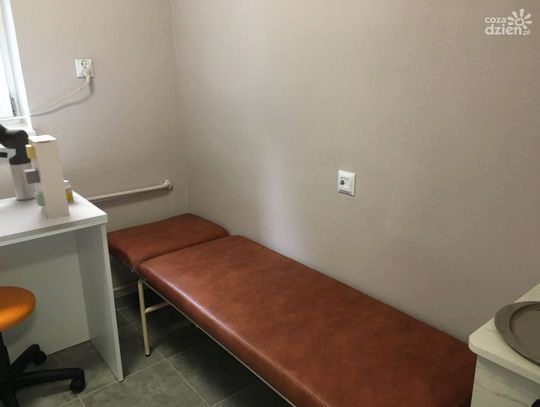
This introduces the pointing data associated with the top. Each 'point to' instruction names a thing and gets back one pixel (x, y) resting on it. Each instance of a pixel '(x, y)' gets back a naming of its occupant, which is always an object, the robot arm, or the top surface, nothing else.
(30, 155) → the tan square block
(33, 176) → the charcoal key
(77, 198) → the top surface
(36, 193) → the sage key
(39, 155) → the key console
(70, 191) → the supplement bottle
